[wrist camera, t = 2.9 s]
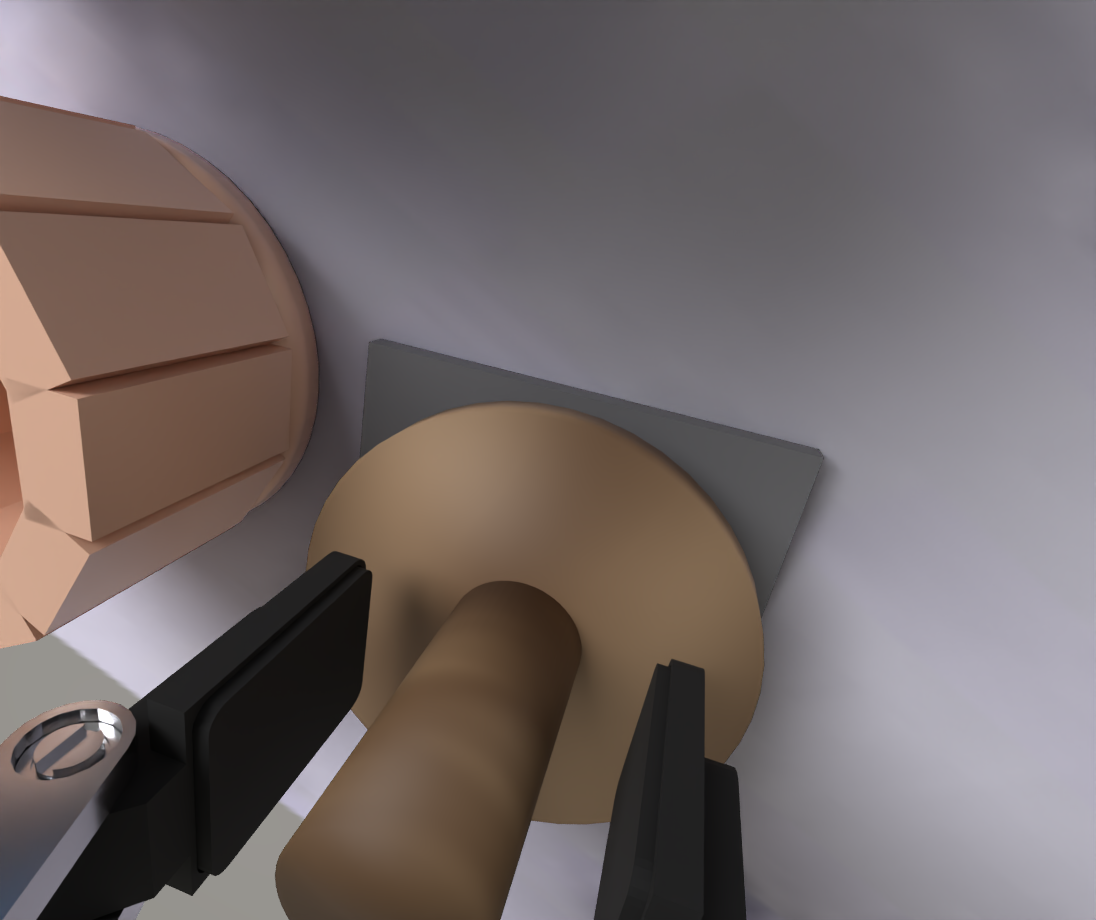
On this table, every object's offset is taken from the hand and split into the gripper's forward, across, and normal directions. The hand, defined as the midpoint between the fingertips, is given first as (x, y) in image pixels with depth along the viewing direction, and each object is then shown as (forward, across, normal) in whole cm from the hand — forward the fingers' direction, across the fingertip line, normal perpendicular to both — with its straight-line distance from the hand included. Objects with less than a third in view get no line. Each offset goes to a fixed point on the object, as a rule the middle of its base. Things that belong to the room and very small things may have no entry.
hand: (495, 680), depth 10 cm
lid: (+3, 0, 0) cm, 3 cm away
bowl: (+3, +10, -3) cm, 11 cm away
